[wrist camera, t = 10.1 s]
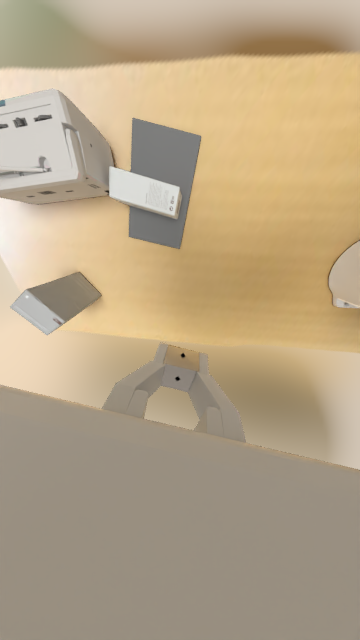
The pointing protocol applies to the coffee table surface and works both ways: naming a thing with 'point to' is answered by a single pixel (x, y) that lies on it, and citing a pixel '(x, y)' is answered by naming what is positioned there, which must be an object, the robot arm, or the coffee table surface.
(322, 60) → the coffee table surface
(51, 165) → the stereo radio cassette player
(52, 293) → the skincare box
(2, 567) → the robot arm
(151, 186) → the skincare box
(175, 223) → the mat
